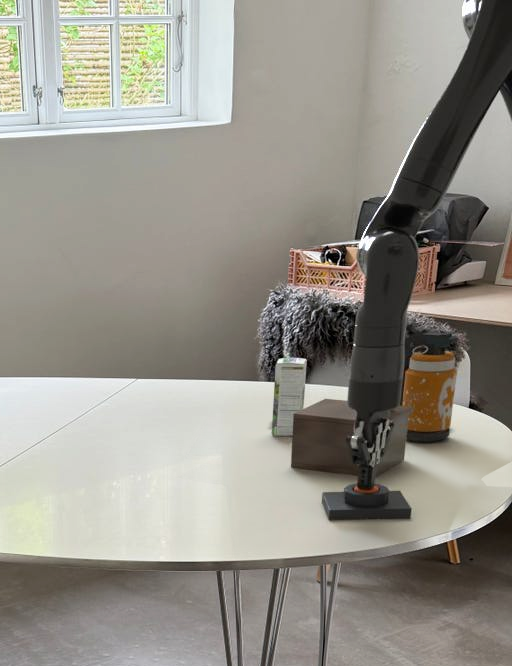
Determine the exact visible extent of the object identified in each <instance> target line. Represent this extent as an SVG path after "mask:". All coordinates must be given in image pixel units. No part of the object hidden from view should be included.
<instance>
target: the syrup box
mask: <svg viewBox="0 0 512 666" xmlns="http://www.w3.org/2000/svg"><path fill="white" fill-rule="evenodd" d="M307 361H308V359H306V358H302V357H284V358H278V359H277V361H276V364H275V369H274V370H275V371H274V384H273V385H274V387H273V402H272V403H273V405H272V421H271V423H272V424H271V436H272V437H276V436H277V437H281V436H282V437H292V435H293V414H294V413H296V412H298V411H300V410H302V409H304V405H305V392H306V379H307V377H306V376H307Z"/></svg>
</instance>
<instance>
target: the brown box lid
mask: <svg viewBox="0 0 512 666" xmlns="http://www.w3.org/2000/svg"><path fill="white" fill-rule="evenodd" d="M413 411H414V407H410V406H399V407H398V408H396V409H394V410H390V411H389V417H388V419H389V421H394V422H396V421H397V420H399V419H401V418H403V417H405V416H406V415H408V414H410V413H412V412H413ZM356 415H357V412H356V411H355V410H354V409H351V408H349V407H348V405H347V400H344V399H333V398H324V399H321V400H320V401H317V402H315V403H313V404H311V405H309V406H307V407H305V408H303V409H302V410H300V411H298V412H296V413H294V414H293V418H298V419H308V420H317V421H326V422H336V423H345V424H354V422H355V420H356Z"/></svg>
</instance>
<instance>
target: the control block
mask: <svg viewBox="0 0 512 666" xmlns="http://www.w3.org/2000/svg"><path fill="white" fill-rule="evenodd" d="M356 486H357V482H356V483H351V484H348V485H346V486H344V488H343V491H322V493H321V504H322V506H323V509H324V512H325V514H326V517H327V520H328V521H363V520H365V521H366V520H367V521H369V520H372V521H373V520H374V521H375V520H410V519H411V517H412V507H411V505H410V504H409V503H408V501H407V499H406V498H405V496H404V494H403V492H402V491H401V490H390V489H389V487H388V486H386V485H383V484H381V483H375V486H376V487H378V488H379V492H375V493H359V492H356V491H354V488H355V487H356Z"/></svg>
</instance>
